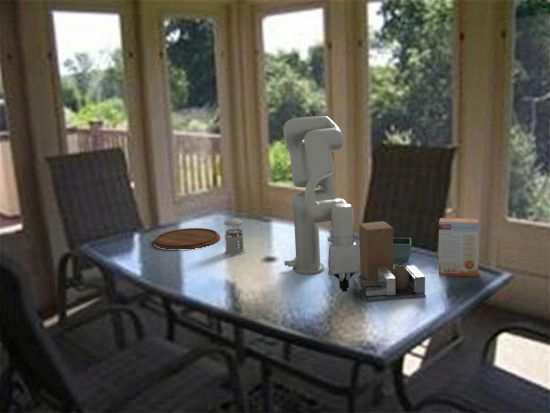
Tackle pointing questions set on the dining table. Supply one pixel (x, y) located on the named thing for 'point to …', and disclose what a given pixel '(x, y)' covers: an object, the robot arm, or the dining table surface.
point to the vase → (401, 277)
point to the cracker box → (458, 247)
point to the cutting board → (187, 238)
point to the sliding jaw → (384, 281)
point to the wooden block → (375, 248)
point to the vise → (413, 290)
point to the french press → (234, 237)
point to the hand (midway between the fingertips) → (344, 290)
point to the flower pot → (401, 250)
